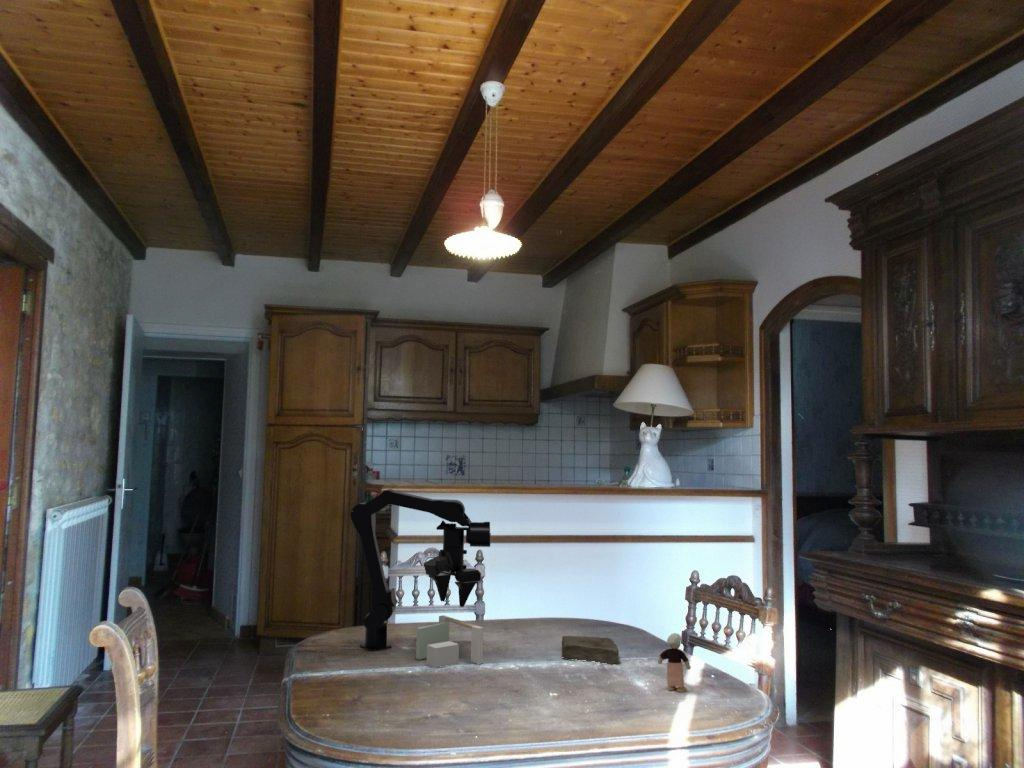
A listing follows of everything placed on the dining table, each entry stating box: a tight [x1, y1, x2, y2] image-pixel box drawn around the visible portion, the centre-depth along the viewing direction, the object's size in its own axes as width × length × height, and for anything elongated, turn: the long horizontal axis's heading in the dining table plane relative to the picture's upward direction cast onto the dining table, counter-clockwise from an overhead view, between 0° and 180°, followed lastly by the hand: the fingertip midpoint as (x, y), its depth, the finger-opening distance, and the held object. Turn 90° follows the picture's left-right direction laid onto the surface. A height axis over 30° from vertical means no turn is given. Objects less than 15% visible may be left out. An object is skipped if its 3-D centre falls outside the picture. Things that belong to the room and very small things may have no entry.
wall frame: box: [438, 615, 484, 665], centre depth 210 cm, size 18×2×9 cm, turn 39°
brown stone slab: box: [561, 635, 620, 665], centre depth 213 cm, size 17×15×4 cm
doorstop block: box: [426, 640, 460, 669], centre depth 202 cm, size 4×7×5 cm, turn 129°
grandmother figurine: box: [657, 632, 691, 693], centre depth 184 cm, size 8×4×13 cm, turn 71°
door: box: [415, 622, 450, 661], centre depth 210 cm, size 10×2×8 cm, turn 138°
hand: (452, 603), depth 218 cm, fingers open, 9 cm apart
